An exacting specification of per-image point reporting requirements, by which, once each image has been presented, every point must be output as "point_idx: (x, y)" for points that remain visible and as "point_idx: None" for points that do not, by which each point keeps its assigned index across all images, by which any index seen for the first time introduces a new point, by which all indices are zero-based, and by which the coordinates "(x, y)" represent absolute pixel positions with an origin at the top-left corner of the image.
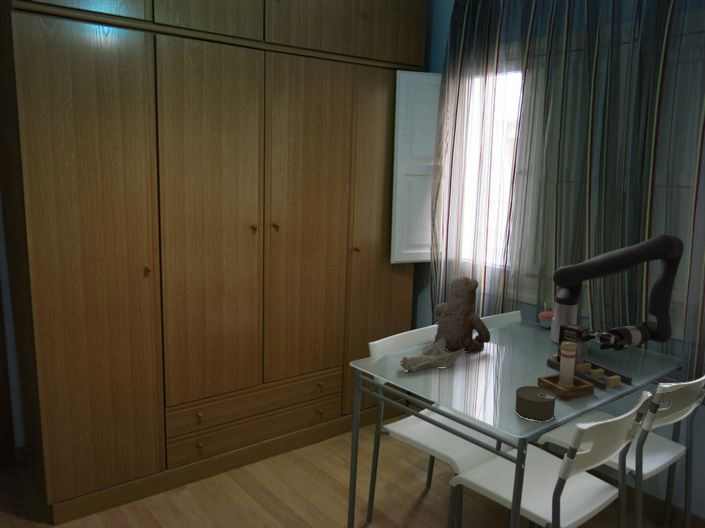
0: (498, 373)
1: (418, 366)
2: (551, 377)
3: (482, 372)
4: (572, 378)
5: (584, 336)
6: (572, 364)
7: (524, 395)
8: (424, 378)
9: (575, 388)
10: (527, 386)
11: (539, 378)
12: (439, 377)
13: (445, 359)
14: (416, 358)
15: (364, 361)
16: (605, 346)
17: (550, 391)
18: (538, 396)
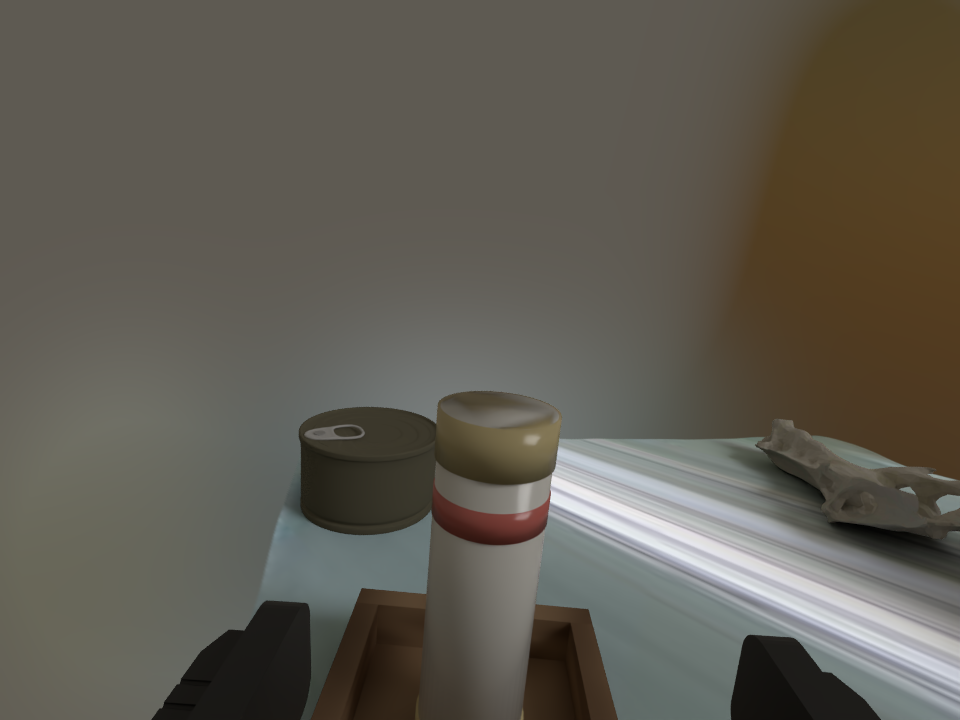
0: (802, 630)
1: (769, 449)
2: (582, 687)
3: (807, 588)
4: (422, 671)
5: (765, 663)
6: (429, 553)
7: (391, 420)
8: (723, 467)
9: (346, 651)
10: (433, 441)
11: (574, 608)
12: (733, 486)
13: (838, 488)
14: (805, 440)
15: (857, 448)
16: (212, 664)
17: (350, 455)
18: (352, 425)
